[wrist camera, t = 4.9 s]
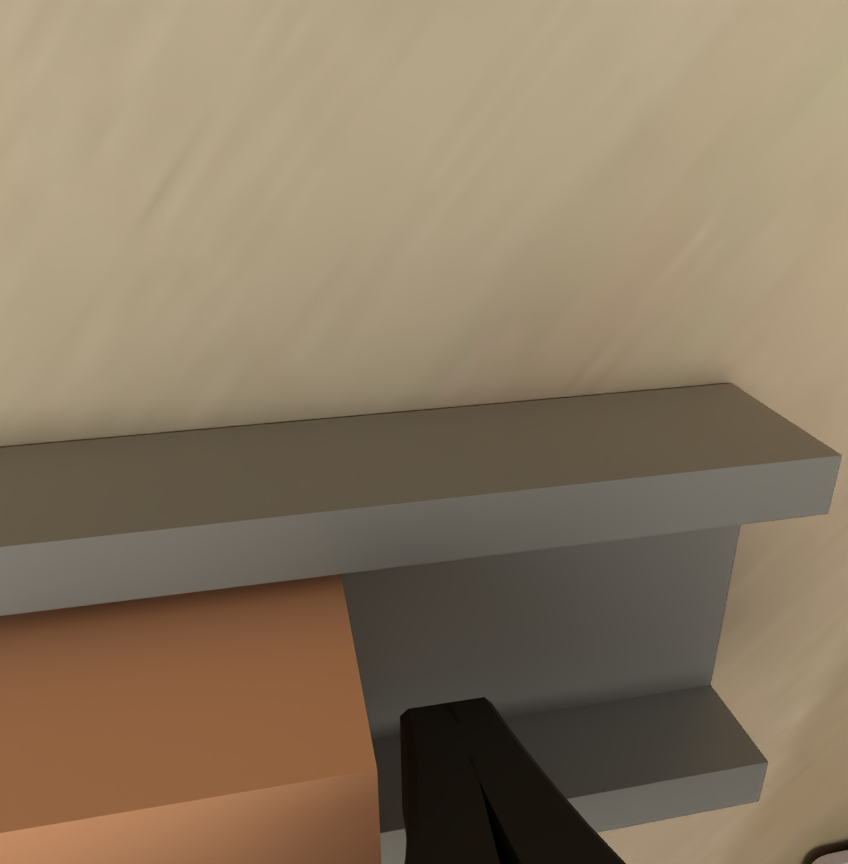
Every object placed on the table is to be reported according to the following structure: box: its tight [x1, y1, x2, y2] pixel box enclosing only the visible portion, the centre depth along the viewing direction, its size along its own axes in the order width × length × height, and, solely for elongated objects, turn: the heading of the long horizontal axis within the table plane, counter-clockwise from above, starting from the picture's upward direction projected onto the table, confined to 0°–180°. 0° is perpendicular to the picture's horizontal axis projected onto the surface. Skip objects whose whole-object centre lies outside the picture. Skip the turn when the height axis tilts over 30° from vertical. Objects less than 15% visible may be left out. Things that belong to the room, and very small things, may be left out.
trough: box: [0, 383, 842, 864], centre depth 12 cm, size 20×7×5 cm, turn 90°
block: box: [0, 574, 381, 864], centre depth 11 cm, size 5×5×5 cm
